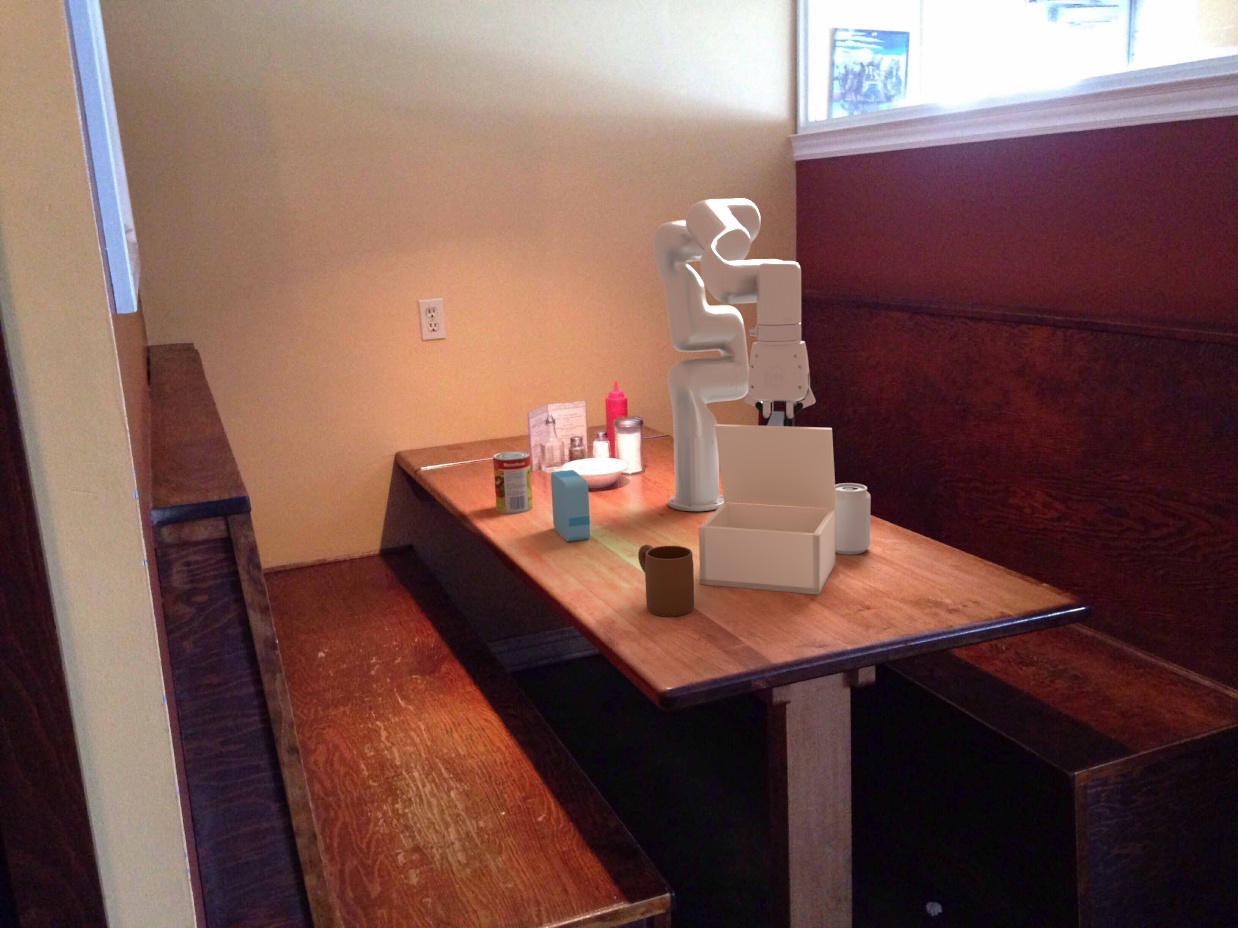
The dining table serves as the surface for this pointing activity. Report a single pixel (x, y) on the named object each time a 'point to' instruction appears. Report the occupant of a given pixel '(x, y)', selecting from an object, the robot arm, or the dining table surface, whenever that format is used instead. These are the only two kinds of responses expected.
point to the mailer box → (768, 547)
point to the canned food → (513, 482)
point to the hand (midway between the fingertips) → (780, 438)
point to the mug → (668, 579)
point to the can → (852, 518)
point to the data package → (570, 505)
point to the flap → (777, 464)
